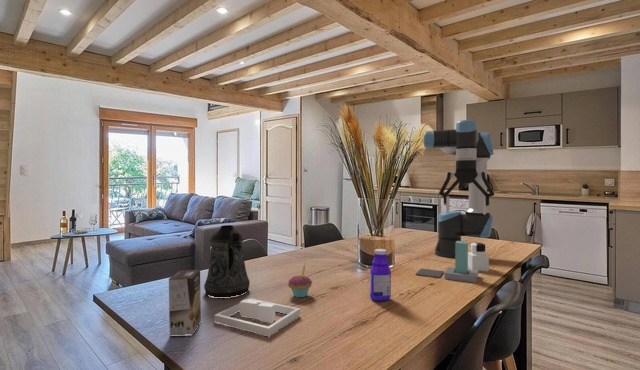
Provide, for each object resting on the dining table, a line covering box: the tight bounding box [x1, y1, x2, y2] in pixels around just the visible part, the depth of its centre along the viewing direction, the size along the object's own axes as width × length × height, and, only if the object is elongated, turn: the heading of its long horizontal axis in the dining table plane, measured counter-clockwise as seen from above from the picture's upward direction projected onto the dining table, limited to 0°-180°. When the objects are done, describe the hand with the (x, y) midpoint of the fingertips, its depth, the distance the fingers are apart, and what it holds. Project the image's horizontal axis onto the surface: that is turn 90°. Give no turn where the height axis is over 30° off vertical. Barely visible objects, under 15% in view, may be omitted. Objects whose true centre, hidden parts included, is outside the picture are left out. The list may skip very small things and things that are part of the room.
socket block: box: [444, 266, 479, 284], centre depth 149 cm, size 10×12×2 cm
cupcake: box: [287, 263, 313, 298], centre depth 128 cm, size 9×8×12 cm
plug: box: [454, 240, 469, 274], centre depth 149 cm, size 4×4×15 cm
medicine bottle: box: [468, 242, 490, 272], centre depth 161 cm, size 7×7×12 cm
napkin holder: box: [239, 299, 277, 322], centre depth 107 cm, size 15×11×6 cm
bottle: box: [369, 248, 392, 302], centre depth 124 cm, size 7×6×17 cm
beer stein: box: [203, 224, 251, 297], centre depth 132 cm, size 16×19×25 cm
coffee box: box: [168, 269, 202, 336], centre depth 101 cm, size 9×6×16 cm
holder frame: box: [213, 297, 301, 336], centre depth 107 cm, size 16×20×2 cm
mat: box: [415, 268, 445, 279], centre depth 155 cm, size 10×10×1 cm
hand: (465, 213), depth 141 cm, fingers open, 13 cm apart
